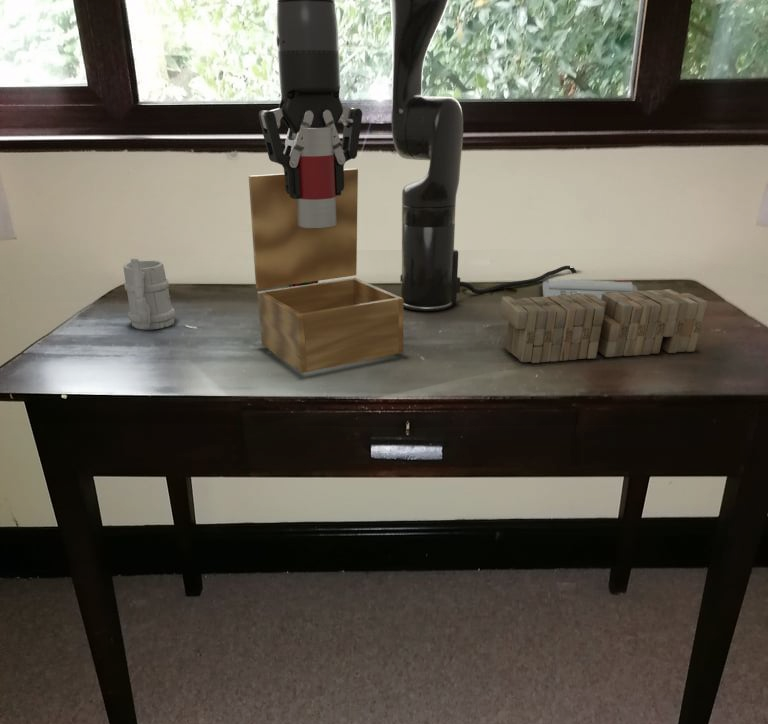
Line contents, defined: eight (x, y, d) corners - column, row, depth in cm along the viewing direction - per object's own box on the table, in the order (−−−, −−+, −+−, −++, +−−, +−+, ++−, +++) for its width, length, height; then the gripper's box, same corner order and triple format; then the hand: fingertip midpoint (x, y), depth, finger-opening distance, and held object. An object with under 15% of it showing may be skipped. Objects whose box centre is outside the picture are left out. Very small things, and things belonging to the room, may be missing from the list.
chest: (403, 357, 108) (403, 298, 104) (302, 378, 101) (297, 315, 97) (356, 332, 119) (355, 277, 114) (262, 349, 112) (257, 291, 107)
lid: (358, 169, 105) (341, 162, 109) (250, 176, 98) (236, 169, 102) (356, 275, 114) (340, 265, 118) (257, 289, 107) (244, 278, 111)
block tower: (667, 342, 116) (494, 348, 111) (680, 288, 112) (500, 292, 107) (694, 357, 110) (512, 365, 104) (709, 301, 105) (519, 306, 100)
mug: (179, 316, 128) (168, 245, 121) (169, 336, 118) (157, 260, 111) (134, 318, 127) (121, 246, 121) (121, 338, 117) (106, 262, 111)
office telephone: (542, 274, 142) (648, 277, 140) (541, 287, 144) (645, 291, 141) (544, 304, 123) (667, 308, 120) (543, 319, 124) (664, 324, 121)
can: (326, 220, 103) (321, 124, 96) (343, 226, 99) (340, 126, 92) (291, 224, 100) (284, 126, 94) (308, 230, 96) (302, 128, 90)
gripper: (265, 46, 83) (277, 204, 92) (373, 47, 89) (375, 195, 98) (241, 48, 89) (255, 197, 97) (345, 49, 95) (349, 189, 104)
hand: (315, 196), depth 98 cm, fingers closed on can, 5 cm apart
